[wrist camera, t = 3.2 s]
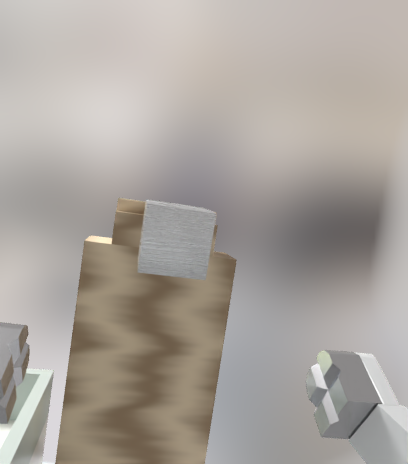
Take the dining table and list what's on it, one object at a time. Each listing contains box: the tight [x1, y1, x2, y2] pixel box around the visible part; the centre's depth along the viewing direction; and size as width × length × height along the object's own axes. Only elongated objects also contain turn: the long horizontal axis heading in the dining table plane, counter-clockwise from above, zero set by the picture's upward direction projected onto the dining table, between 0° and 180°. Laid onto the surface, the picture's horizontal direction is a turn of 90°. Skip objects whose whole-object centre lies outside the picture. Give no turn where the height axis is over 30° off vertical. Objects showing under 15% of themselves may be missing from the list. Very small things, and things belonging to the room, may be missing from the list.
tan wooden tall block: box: [55, 198, 236, 464], centre depth 33 cm, size 12×4×30 cm, turn 100°
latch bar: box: [138, 199, 216, 280], centre depth 27 cm, size 4×11×4 cm, turn 10°
